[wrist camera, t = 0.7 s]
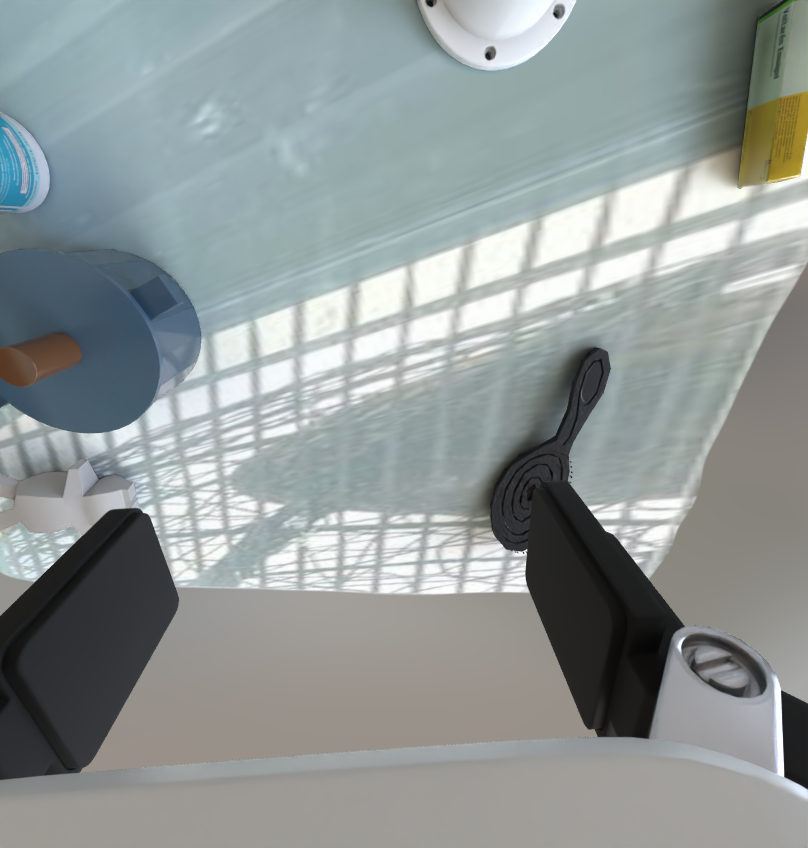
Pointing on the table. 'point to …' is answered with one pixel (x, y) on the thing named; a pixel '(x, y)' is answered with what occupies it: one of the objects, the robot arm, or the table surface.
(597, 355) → the hairbrush
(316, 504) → the table surface
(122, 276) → the canister
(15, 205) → the pill bottle
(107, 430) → the lid
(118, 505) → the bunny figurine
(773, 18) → the medication box
